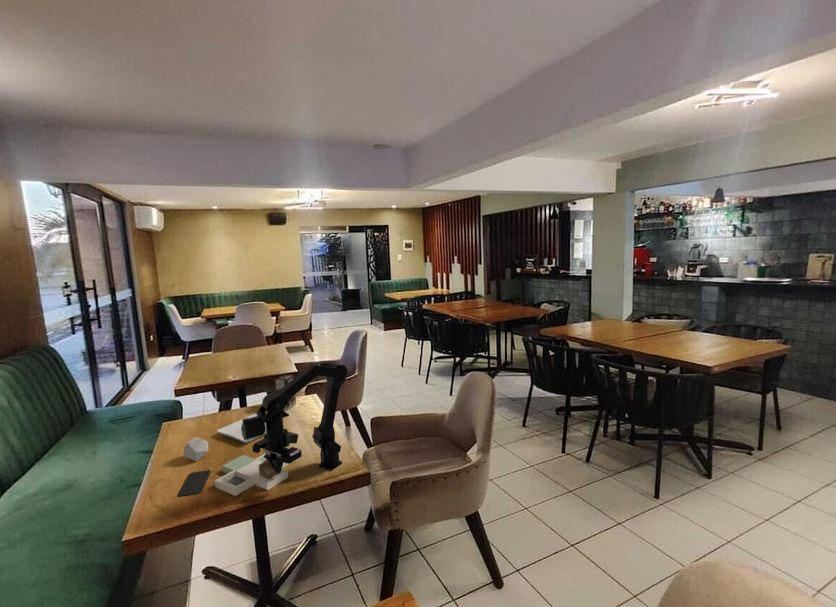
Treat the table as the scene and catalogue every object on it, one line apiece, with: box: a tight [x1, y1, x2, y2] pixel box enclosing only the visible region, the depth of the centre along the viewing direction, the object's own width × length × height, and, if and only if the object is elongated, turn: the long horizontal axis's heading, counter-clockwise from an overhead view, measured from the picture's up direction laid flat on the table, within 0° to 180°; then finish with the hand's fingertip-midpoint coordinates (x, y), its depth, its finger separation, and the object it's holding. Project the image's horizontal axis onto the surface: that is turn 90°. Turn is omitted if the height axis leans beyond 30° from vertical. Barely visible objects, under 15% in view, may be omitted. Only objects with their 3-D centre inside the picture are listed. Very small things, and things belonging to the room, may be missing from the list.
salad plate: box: [216, 413, 284, 444], centre depth 185 cm, size 21×21×3 cm
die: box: [183, 436, 209, 462], centre depth 162 cm, size 8×9×10 cm
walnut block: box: [259, 461, 277, 479], centre depth 144 cm, size 5×5×4 cm
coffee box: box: [275, 374, 297, 411], centre depth 214 cm, size 9×6×16 cm
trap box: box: [214, 453, 291, 497], centre depth 149 cm, size 25×24×2 cm
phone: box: [177, 469, 211, 498], centre depth 145 cm, size 7×1×15 cm
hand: (278, 473), depth 142 cm, fingers closed
